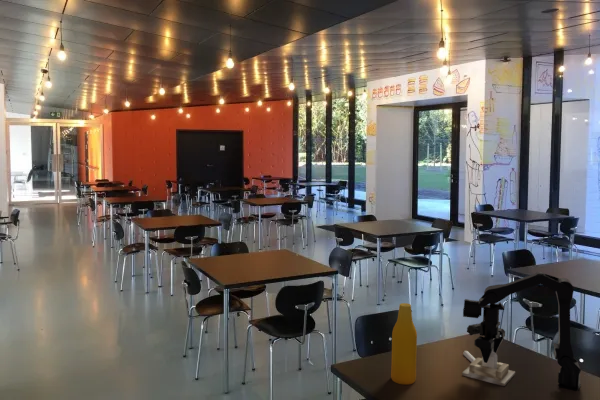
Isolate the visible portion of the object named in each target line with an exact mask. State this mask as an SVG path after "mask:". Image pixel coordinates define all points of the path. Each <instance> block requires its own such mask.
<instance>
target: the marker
mask: <svg viewBox="0 0 600 400" xmlns="http://www.w3.org/2000/svg"><path fill="white" fill-rule="evenodd" d="M462 354H463V356H464V357H465V358H466V359H467V360H468V361H469V362H470V364H471V363H472V362H473V361H474V360H475V359H476V358H475V357H474V355H472V354H471V353H470V352H469V351H468V350H463V352H462Z"/></svg>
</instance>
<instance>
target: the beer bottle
mask: <svg viewBox="0 0 600 400" xmlns="http://www.w3.org/2000/svg"><path fill="white" fill-rule="evenodd" d="M417 343H418V333H417V329H416V325H415V324H414V321H413V313H412V304H410V303H405V302H404V303H399V305H398V314H397V320H396V322H395V324H394V326H393V328H392V333H391V368H390V369H391V370H390V377H391V380H392V382H394V383H396V384H399V385H404V386H405V385H412V384H414V383H415V382H416V379H417V346H418V344H417Z"/></svg>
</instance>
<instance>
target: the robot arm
mask: <svg viewBox="0 0 600 400" xmlns="http://www.w3.org/2000/svg"><path fill="white" fill-rule="evenodd" d="M538 285H541V286H544V287H546V288H548V289H550V290H551V291H554V292H555V294H556V295H555V296H556V299H557V303H558V341H557V343H555V342H554V343H553V347H554V349H553V350H554V351H553V356H554V359H555V360H556V361H557V364H558V365H559V366H560V369H559V371H558V373H557V376H558V377H557V383H558V387H559V388H562V389H563V388H564V389H568V390H571V391H576V392H578V391H579V390H580V387H581V385H582V384H581V371H582V369H581V367H580V364H579V361H578V360H577V359H576V358H575V356H574V351H573V348H572V342H571V341H572V340H571V304H572V301H573V296H574V286H573V284H572V282H571V281H570V280H569V279H568V278H565V277H560V278H559V277H557V276H554V275H551V274H547V273H544V272H542V271H536V272H535V273H533V274H530V275H526V276H525V277H522V278H519V279H516V280H514V281H511V282H507V283H504V284H503V283H502V284H493V285H488V286H486V287H485V289H484V290H483V295H482V296H480V298H479V300H473V299H468V298H465V299H464V300H463V309H462V311H463V312H462V317H464V318H471V319H472V318H473V319H479V318H480V317H481V316H482V321H480V322H479V323H476V324H469V325H468V326H467V328H466V333H468V334H469V336H473V335H479V336H478V337H477V338H476V339H474V346H475V347H476V348H478V349H479V350H480V353H481V357H482V356H483V360H484V362H485V363H487V362H488V360H489V357H490V355H491V353H492V350H493V352H495V353H496V354H497V352H498V350H499V348H500V346H501V344H502V342H503V340H504V338H505V337H506V330H505V329H503V328H500V327H499V326H500V325H501V321H500V311H504V310H505V306H504V305H503V304H502V302H501V301H503V300H504V299H506V298H507V297H508V296H511V295H513V294H515V293H518V292H519V293H520V292H521V291H524V290H527V289H530V288H533V287H536V286H538ZM482 311H483V313H482ZM493 346H494V347H493Z"/></svg>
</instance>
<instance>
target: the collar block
mask: <svg viewBox="0 0 600 400" xmlns="http://www.w3.org/2000/svg"><path fill="white" fill-rule="evenodd" d="M509 366H510V365H509V364H508V363H503V362H498V361H497V369H493V368H489V367H485V366H482V357H476V358H475V360H474V361H473V362H472V363H471V362H470V363H469V366H467V368H466V369H464V370H463V371H462V372H461V375H462V376H463V377H464V376H465V377H468V378H471V379H476V380H477V381H478V380H479V381H483V382H486V383H491V384H494V385H498V386H502V387H505V386H506V385H507V384H508V383H509V382H510V381H511V380H512V379H513V377H514V376H515V375H516V371H515V370H510V369H509V368H510V367H509Z"/></svg>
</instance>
